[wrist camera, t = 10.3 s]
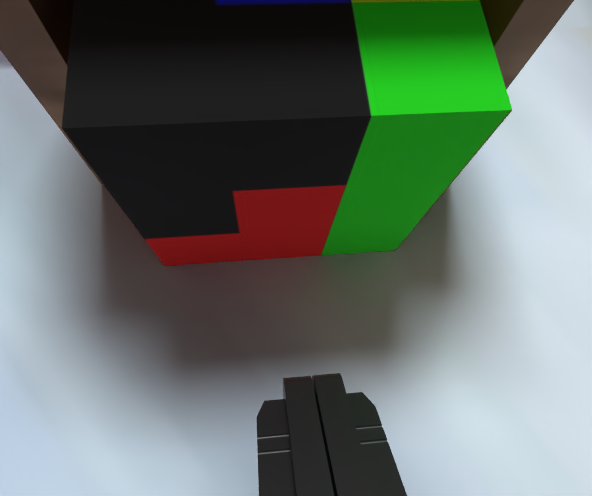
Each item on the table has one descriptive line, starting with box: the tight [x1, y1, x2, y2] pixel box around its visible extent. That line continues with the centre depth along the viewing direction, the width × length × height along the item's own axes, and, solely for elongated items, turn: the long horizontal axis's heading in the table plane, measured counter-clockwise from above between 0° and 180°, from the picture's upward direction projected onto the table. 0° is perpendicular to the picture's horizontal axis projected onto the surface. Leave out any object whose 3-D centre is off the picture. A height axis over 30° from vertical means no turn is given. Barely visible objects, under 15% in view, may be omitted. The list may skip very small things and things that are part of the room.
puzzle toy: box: [62, 0, 512, 266], centre depth 16 cm, size 10×10×10 cm
